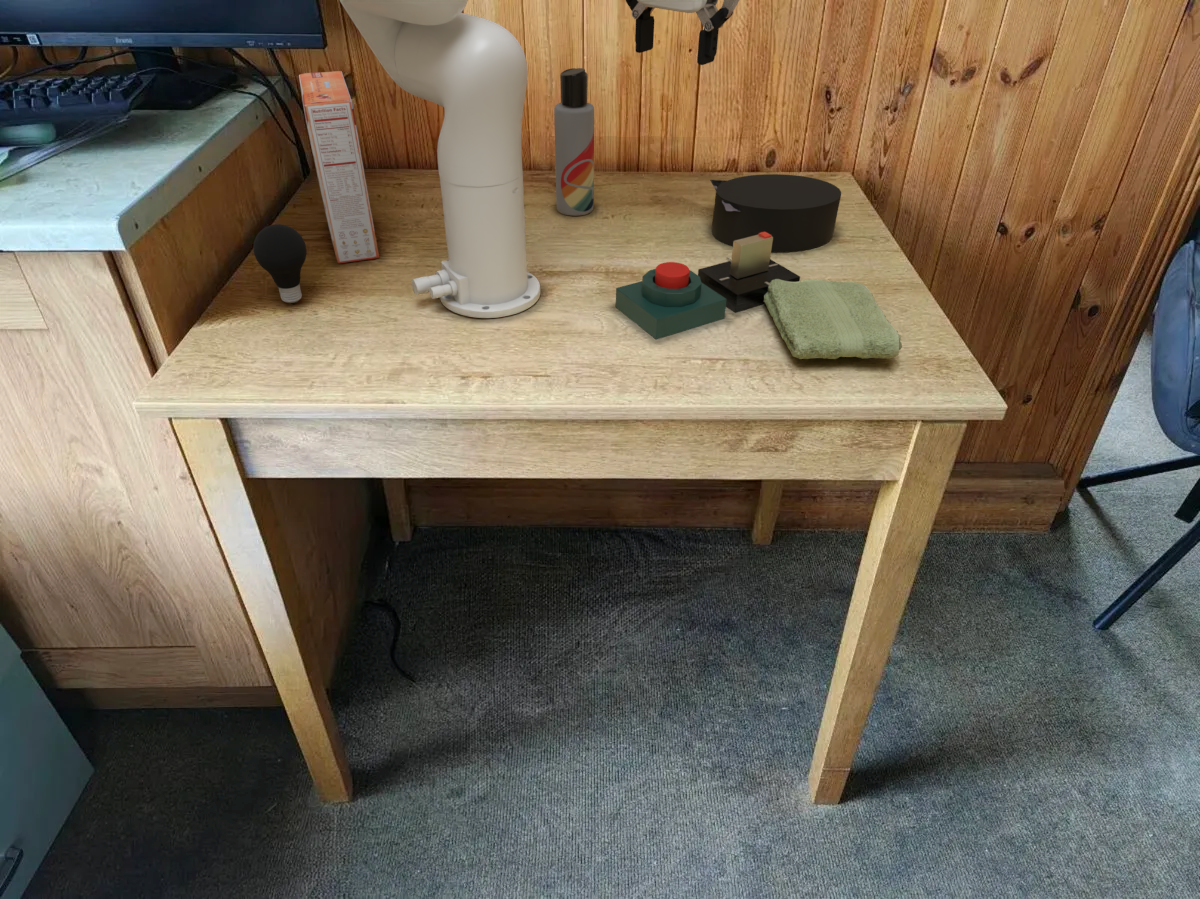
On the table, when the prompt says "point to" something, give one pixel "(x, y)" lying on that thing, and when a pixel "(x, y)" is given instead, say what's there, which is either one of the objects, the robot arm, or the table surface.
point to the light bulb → (282, 258)
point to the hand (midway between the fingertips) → (674, 56)
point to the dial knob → (751, 255)
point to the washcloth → (830, 320)
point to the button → (672, 275)
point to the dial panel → (743, 284)
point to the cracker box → (339, 165)
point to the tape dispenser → (776, 210)
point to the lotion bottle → (574, 145)
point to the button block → (669, 305)
